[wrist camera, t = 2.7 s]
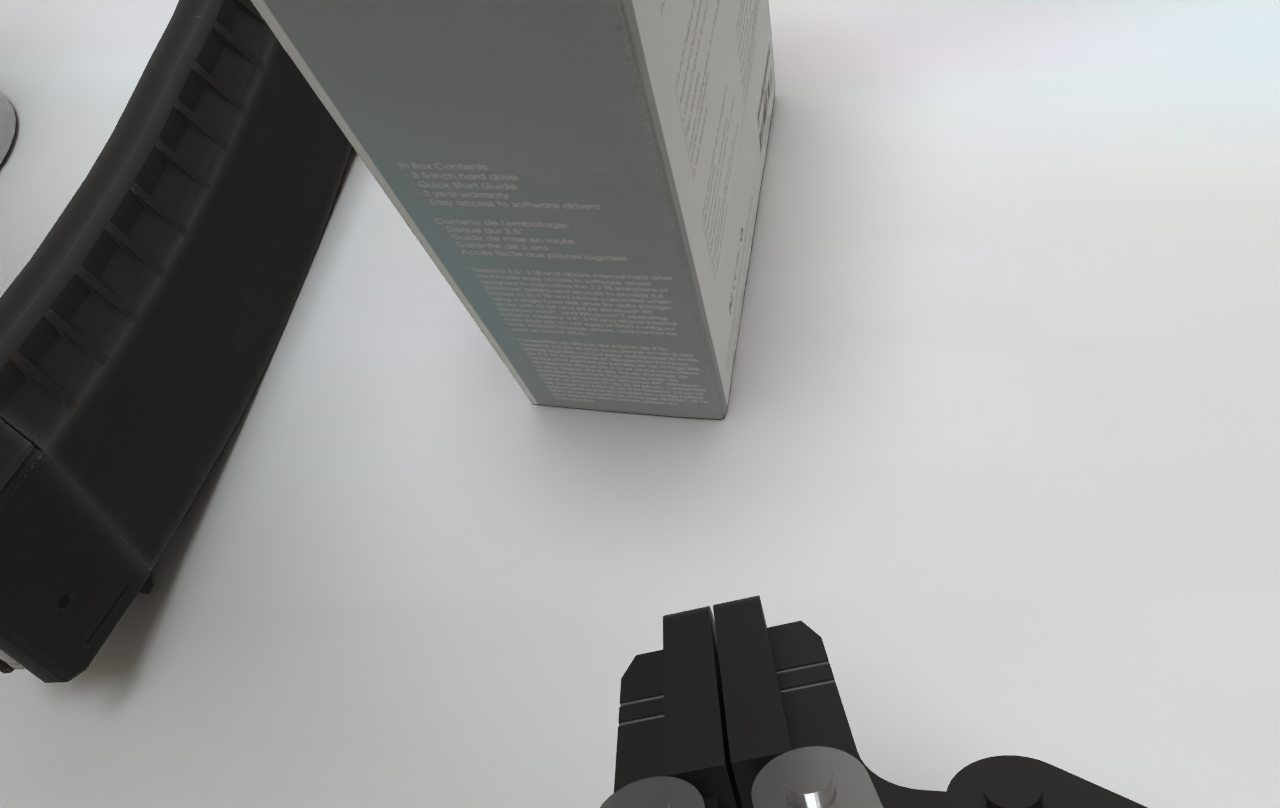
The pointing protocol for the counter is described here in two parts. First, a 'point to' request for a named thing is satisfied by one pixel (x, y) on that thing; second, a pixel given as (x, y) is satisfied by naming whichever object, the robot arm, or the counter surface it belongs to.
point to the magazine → (151, 324)
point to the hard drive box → (565, 173)
